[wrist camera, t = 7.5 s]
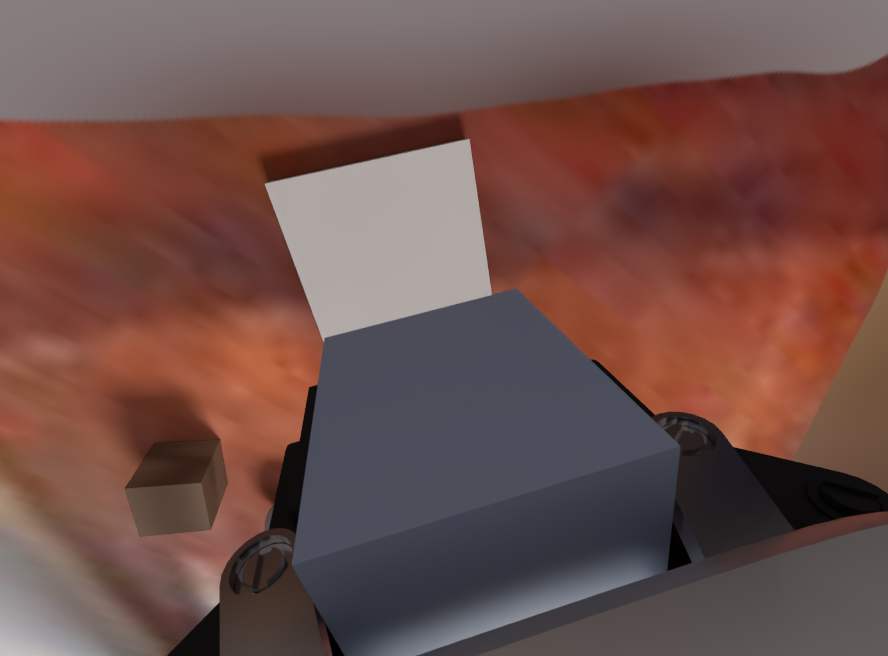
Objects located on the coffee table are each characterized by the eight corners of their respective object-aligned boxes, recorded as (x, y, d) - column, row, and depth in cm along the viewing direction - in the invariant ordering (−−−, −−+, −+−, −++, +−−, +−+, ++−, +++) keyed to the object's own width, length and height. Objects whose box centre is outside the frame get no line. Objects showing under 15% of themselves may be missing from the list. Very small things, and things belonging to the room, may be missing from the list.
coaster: (331, 354, 27) (331, 362, 26) (268, 181, 22) (264, 183, 21) (490, 312, 28) (495, 318, 27) (464, 138, 23) (469, 138, 22)
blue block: (324, 338, 10) (291, 565, 5) (515, 288, 11) (680, 445, 5) (377, 479, 12) (394, 740, 7) (532, 434, 13) (658, 646, 8)
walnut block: (166, 487, 29) (139, 536, 25) (154, 442, 27) (124, 488, 24) (228, 482, 30) (210, 529, 26) (220, 438, 28) (201, 482, 24)
